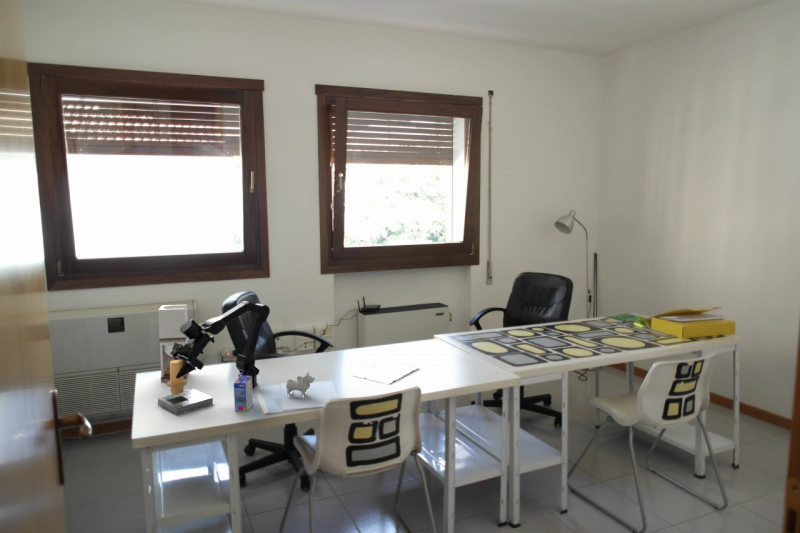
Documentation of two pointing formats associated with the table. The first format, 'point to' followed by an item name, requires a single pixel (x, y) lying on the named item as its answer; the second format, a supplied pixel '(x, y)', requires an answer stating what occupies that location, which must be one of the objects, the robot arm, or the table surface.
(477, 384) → the table surface
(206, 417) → the table surface
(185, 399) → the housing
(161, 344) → the white dispenser
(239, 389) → the ink cartridge box
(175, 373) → the orange flanged peg
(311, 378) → the grey dog figurine
